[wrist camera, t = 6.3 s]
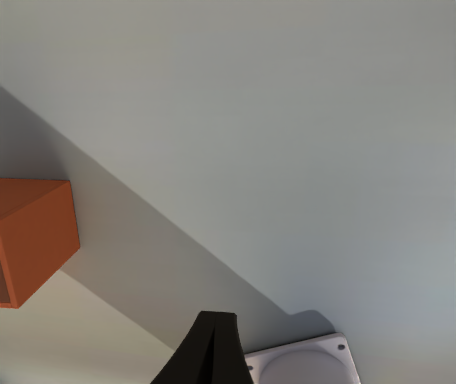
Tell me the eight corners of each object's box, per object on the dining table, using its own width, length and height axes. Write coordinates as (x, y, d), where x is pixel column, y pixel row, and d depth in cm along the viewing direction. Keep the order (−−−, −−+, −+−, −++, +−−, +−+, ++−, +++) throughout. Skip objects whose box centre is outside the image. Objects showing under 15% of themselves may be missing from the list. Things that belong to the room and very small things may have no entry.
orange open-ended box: (80, 247, 23) (13, 244, 24) (70, 180, 22) (-3, 177, 22) (18, 309, 17) (-72, 303, 17) (-3, 221, 15) (-102, 217, 16)
